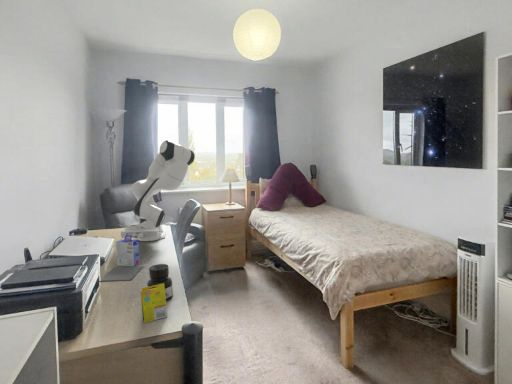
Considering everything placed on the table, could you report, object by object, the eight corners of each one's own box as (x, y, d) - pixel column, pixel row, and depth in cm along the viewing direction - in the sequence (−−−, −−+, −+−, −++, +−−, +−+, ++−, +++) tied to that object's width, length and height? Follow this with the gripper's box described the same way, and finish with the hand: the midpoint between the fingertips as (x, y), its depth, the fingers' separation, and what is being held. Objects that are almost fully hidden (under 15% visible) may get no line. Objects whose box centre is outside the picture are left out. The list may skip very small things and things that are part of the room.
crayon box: (165, 313, 105) (163, 280, 104) (167, 317, 103) (165, 283, 101) (142, 319, 102) (139, 285, 100) (143, 323, 99) (141, 288, 98)
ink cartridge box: (141, 262, 158) (139, 234, 156) (134, 266, 152) (132, 237, 150) (123, 262, 159) (121, 234, 158) (116, 265, 154) (114, 237, 152)
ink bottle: (148, 305, 111) (145, 273, 110) (146, 296, 119) (144, 265, 118) (176, 300, 115) (174, 268, 114) (172, 291, 123) (170, 261, 122)
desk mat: (114, 267, 151) (114, 266, 151) (143, 266, 152) (143, 265, 152) (97, 281, 134) (97, 280, 134) (131, 280, 135) (130, 279, 135)
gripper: (162, 235, 181) (155, 241, 167) (126, 236, 180) (117, 243, 166) (161, 224, 180) (155, 230, 166) (125, 225, 179) (116, 231, 166)
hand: (135, 236), depth 166 cm, fingers closed
